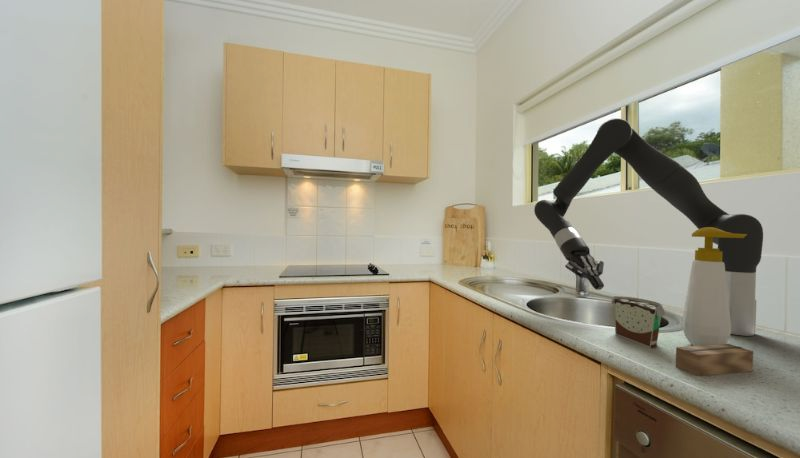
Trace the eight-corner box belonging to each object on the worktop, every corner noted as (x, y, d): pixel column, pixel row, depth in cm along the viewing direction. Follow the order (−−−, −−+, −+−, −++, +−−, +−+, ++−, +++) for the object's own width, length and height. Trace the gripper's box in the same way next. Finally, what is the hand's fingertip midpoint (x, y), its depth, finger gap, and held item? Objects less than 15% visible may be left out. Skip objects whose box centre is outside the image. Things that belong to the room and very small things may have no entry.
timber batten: (728, 362, 66) (728, 343, 66) (752, 371, 63) (753, 350, 63) (675, 366, 64) (676, 346, 64) (697, 375, 60) (698, 354, 60)
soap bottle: (738, 362, 67) (743, 226, 66) (675, 346, 75) (679, 226, 75) (746, 349, 74) (751, 228, 74) (688, 336, 83) (692, 227, 82)
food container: (677, 349, 74) (679, 306, 74) (656, 350, 72) (658, 307, 72) (629, 331, 86) (630, 295, 86) (610, 332, 84) (611, 295, 84)
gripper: (559, 236, 100) (588, 280, 88) (594, 237, 102) (627, 280, 90) (547, 251, 105) (573, 295, 93) (581, 251, 108) (611, 294, 96)
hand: (600, 288), depth 92 cm, fingers closed
